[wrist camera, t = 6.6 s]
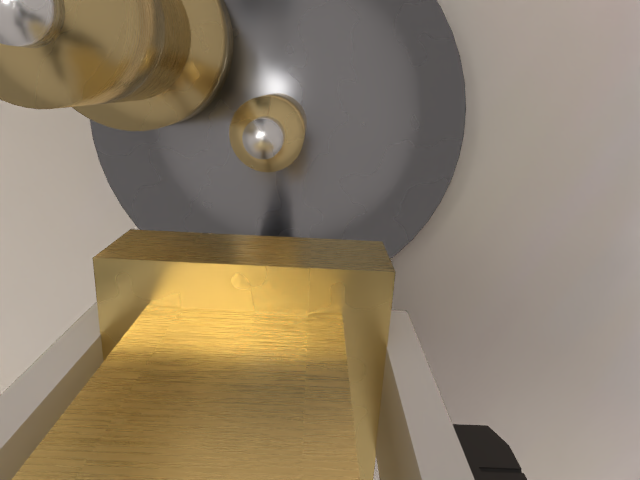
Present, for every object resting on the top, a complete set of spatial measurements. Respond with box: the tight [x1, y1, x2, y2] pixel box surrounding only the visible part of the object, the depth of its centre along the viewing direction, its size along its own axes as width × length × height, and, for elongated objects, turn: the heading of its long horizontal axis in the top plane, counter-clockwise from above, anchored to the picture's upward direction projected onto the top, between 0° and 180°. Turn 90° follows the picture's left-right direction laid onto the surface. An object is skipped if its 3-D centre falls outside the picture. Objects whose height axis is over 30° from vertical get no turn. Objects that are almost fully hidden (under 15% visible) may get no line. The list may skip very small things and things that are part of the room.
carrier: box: [0, 0, 466, 258], centre depth 14 cm, size 13×14×9 cm
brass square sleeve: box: [12, 229, 395, 480], centre depth 9 cm, size 6×6×7 cm
